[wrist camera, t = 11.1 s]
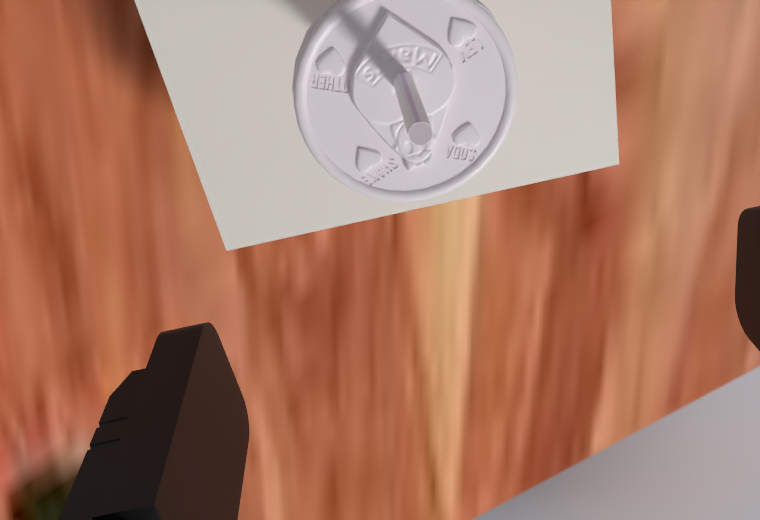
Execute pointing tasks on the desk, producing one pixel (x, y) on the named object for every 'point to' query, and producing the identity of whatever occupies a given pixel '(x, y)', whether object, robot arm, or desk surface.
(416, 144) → the smoothie
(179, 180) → the desk surface
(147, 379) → the robot arm
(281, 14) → the footstool
